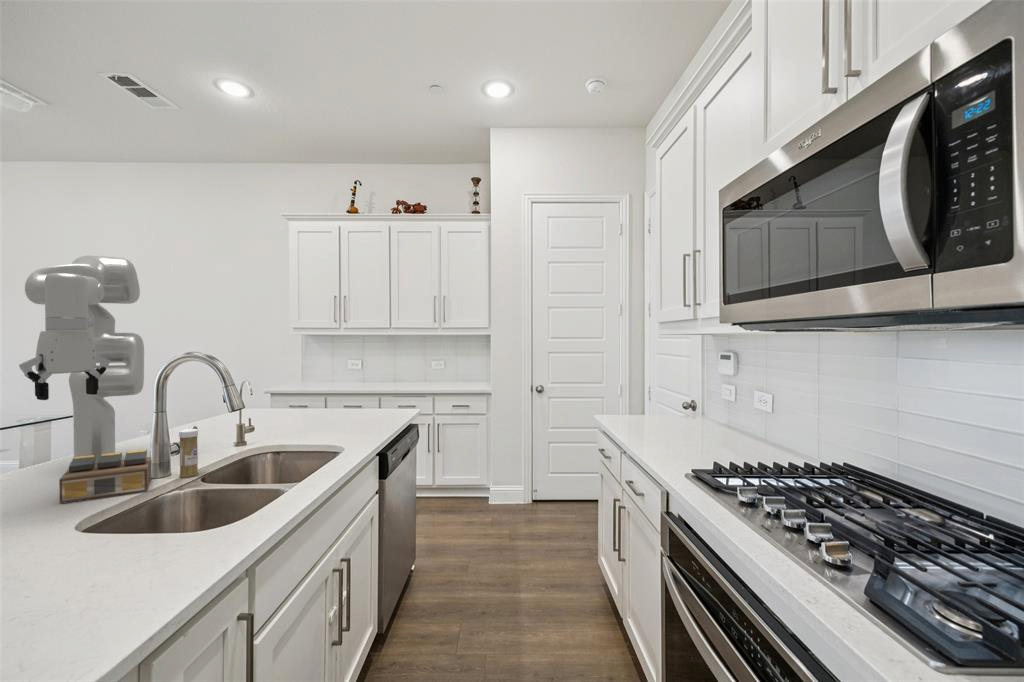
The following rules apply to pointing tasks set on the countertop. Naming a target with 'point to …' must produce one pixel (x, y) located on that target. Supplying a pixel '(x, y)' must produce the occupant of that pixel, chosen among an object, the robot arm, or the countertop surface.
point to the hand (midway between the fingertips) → (68, 396)
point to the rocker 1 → (82, 463)
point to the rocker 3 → (135, 457)
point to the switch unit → (105, 481)
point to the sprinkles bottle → (188, 452)
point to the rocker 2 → (109, 460)
